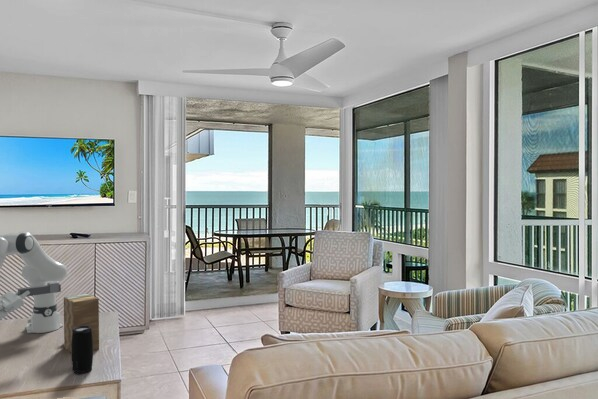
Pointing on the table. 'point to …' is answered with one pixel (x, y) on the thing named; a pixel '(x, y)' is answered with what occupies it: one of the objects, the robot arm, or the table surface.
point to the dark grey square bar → (41, 289)
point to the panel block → (81, 317)
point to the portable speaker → (82, 349)
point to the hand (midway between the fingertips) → (27, 290)
